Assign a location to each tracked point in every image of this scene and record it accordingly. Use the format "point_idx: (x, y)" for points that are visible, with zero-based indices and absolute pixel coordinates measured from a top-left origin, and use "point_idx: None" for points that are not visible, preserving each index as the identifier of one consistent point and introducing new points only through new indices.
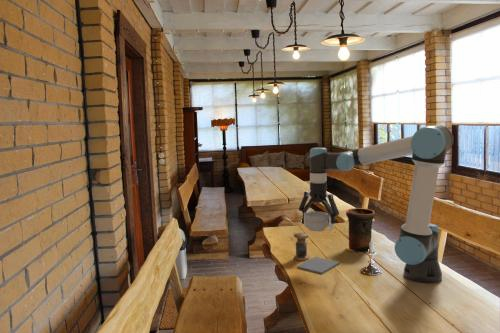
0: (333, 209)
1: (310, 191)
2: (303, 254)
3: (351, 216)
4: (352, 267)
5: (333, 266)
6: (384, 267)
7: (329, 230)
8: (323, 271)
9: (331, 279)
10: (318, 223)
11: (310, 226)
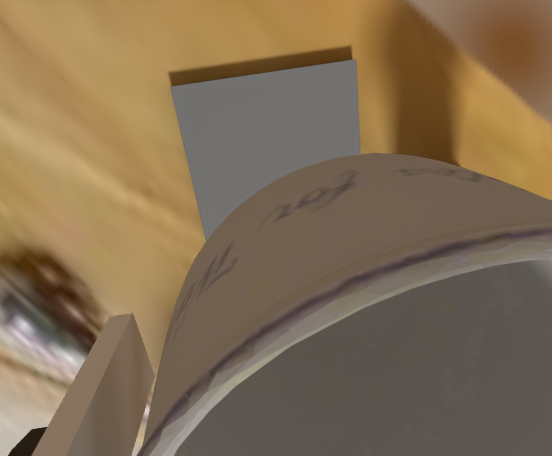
0: None
1: None
2: None
3: None
4: (136, 286)
5: (202, 221)
6: (40, 381)
7: (123, 319)
8: (175, 106)
9: (70, 54)
10: (208, 259)
11: (349, 157)
